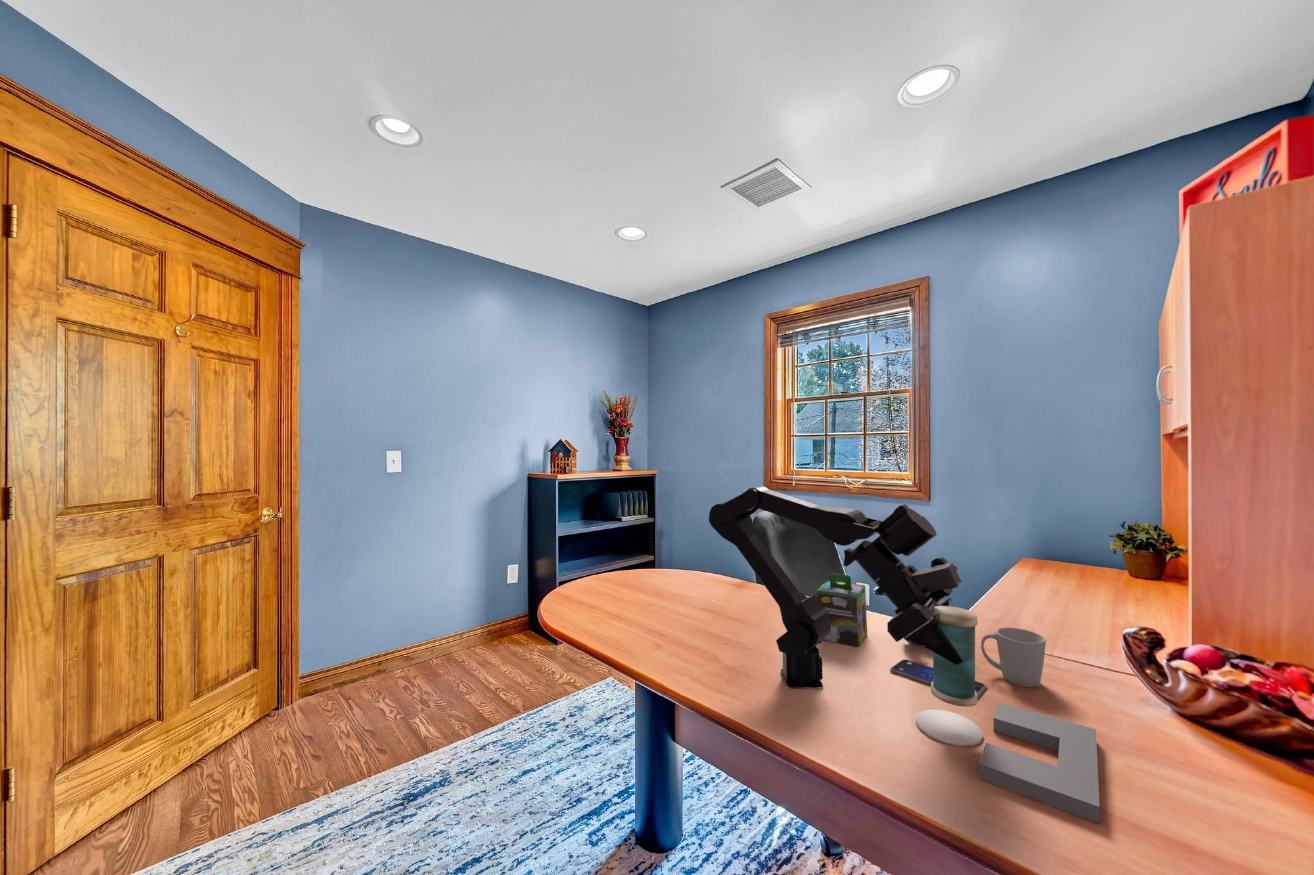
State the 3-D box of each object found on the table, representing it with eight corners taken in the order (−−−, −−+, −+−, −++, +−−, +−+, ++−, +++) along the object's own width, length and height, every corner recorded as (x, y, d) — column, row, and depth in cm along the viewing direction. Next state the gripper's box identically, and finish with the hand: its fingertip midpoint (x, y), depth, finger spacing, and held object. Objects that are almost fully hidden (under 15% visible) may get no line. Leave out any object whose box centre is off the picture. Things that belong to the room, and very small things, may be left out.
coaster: (935, 746, 72) (935, 743, 72) (905, 712, 81) (905, 709, 81) (996, 746, 72) (996, 742, 72) (959, 712, 81) (959, 709, 81)
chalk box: (867, 634, 114) (866, 571, 114) (859, 648, 106) (857, 581, 106) (827, 626, 119) (826, 566, 119) (816, 639, 111) (815, 575, 112)
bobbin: (944, 706, 73) (945, 620, 73) (923, 684, 79) (923, 605, 79) (986, 706, 73) (986, 620, 73) (961, 685, 79) (961, 605, 79)
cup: (1048, 694, 86) (1047, 646, 86) (980, 679, 92) (979, 634, 92) (1045, 677, 92) (1044, 632, 92) (982, 664, 98) (981, 621, 98)
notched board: (979, 778, 66) (979, 763, 66) (998, 713, 81) (998, 701, 81) (1099, 823, 58) (1099, 806, 58) (1096, 742, 73) (1095, 729, 73)
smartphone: (903, 657, 101) (988, 684, 89) (903, 662, 100) (988, 689, 89) (887, 668, 96) (975, 698, 84) (888, 673, 96) (976, 703, 84)
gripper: (910, 554, 72) (1001, 651, 64) (938, 534, 86) (1015, 611, 79) (855, 596, 77) (934, 689, 70) (890, 570, 91) (959, 646, 84)
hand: (963, 656), depth 75 cm, fingers closed on bobbin, 6 cm apart
